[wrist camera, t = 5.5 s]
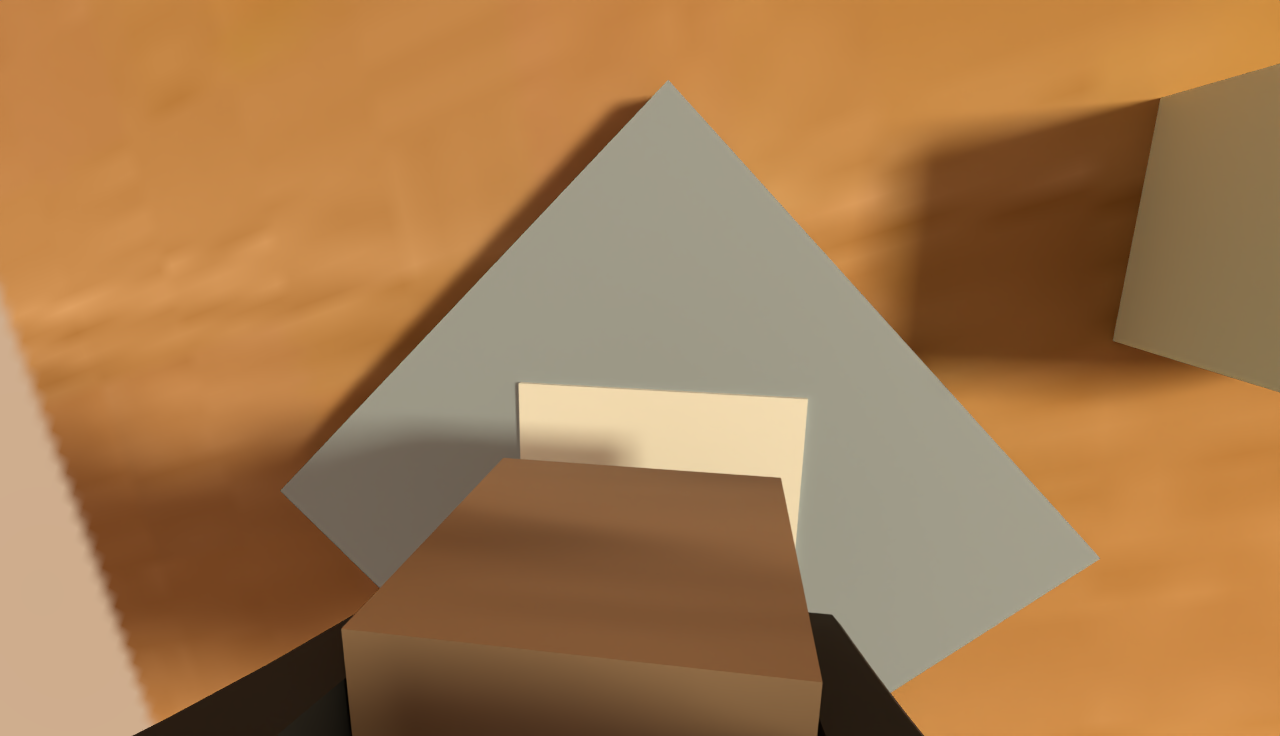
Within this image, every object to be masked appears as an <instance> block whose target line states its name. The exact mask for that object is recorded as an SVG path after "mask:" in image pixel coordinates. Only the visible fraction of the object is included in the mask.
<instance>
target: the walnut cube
mask: <svg viewBox="0 0 1280 736" xmlns="http://www.w3.org/2000/svg"><path fill="white" fill-rule="evenodd" d="M341 631H342V641H343V651H344V660H345V670H346V680H347V689H348V699H349V709H350V718H351V728H352V736H817V732H818V723H819V713H820V703H821V693H822V683H823V682H822V677H821V672H820V667H819V662H818V658H817V653H816V648H815V643H814V638H813V633H812V628H811V623H810V618H809V613H808V608H807V603H806V599H805V594H804V589H803V584H802V579H801V574H800V569H799V564H798V559H797V554H796V549H795V544H794V540H793V535H792V530H791V525H790V520H789V515H788V510H787V505H786V500H785V495H784V490H783V486H782V481H781V478H778V477H764V476H750V475H736V474H722V473H708V472H694V471H680V470H666V469H652V468H638V467H624V466H610V465H596V464H582V463H568V462H554V461H540V460H526V459H512V458H503V459H502V460H501V461H500V462H499V463H498V464H497V465H496V466H495V467H494V468H493V469H492V470H491V471H490V472H489V474H488V475H487V476H486V477H485V478H484V479H483V480H482V481H481V482H480V483H479V484H478V485H477V486H476V487H475V488H474V489H473V490H472V491H471V492H470V494H469V495H468V496H467V497H466V498H465V499H464V500H463V501H462V502H461V503H460V504H459V505H458V506H457V507H456V508H455V509H454V510H453V511H452V513H451V514H450V515H449V516H448V517H447V518H446V519H445V520H444V521H443V522H442V523H441V524H440V525H439V526H438V527H437V528H436V529H435V530H434V532H433V533H432V534H431V535H430V536H429V537H428V538H427V539H426V540H425V541H424V542H423V543H422V544H421V545H420V546H419V547H418V548H417V549H416V550H415V552H414V553H413V554H412V555H411V556H410V557H409V558H408V559H407V560H406V561H405V562H404V563H403V564H402V565H401V566H400V567H399V568H398V569H397V571H396V572H395V573H394V574H393V575H392V576H391V577H390V578H389V579H388V580H387V581H386V582H385V583H384V584H383V585H382V586H381V587H380V588H379V590H378V591H377V592H376V593H375V594H374V595H373V596H372V597H371V598H370V599H369V600H368V601H367V602H366V603H365V604H364V605H363V606H362V607H361V609H360V610H359V611H358V612H357V613H356V614H355V615H354V616H353V617H352V618H351V619H350V620H349V621H348V622H347V623H346V624H345V625H344V626H343V627H342V629H341Z"/></svg>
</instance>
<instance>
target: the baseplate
mask: <svg viewBox="0 0 1280 736" xmlns="http://www.w3.org/2000/svg"><path fill="white" fill-rule="evenodd" d="M503 458H512V459H526V460H540V461H554V462H568V463H582V464H596V465H610V466H624V467H638V468H652V469H666V470H680V471H694V472H708V473H722V474H736V475H750V476H764V477H778V478H781V481H782V486H783V490H784V495H785V500H786V505H787V510H788V515H789V520H790V525H791V530H792V535H793V540H794V544H795V549H796V554H797V559H798V564H799V569H800V574H801V579H802V584H803V589H804V594H805V599H806V603H807V608H808V612H811V613H821V614H831V615H833V616H834V617H835V619H836V620H837V621H838V622H839V623H840V624H841V626H842V627H843V629H844V630H845V631H846V633H847V634H848V636H849V637H850V638H851V640H852V641H853V643H854V644H855V645H856V647H857V648H858V650H859V651H860V652H861V654H862V655H863V657H864V658H865V659H866V661H867V662H868V664H869V665H870V666H871V668H872V669H873V670H874V672H875V673H876V674H877V676H878V677H879V678H880V680H881V681H882V682H883V684H884V685H885V686H886V688H887V689H888V690H889V692H890V693H891V692H892V691H894V690H896V689H897V688H899V687H900V686H902V685H903V684H905V683H907V682H908V681H910V680H911V679H913V678H914V677H916V676H918V675H919V674H921V673H922V672H924V671H925V670H927V669H928V668H930V667H932V666H933V665H935V664H936V663H938V662H939V661H941V660H943V659H944V658H946V657H947V656H949V655H950V654H952V653H953V652H955V651H957V650H958V649H960V648H961V647H963V646H964V645H966V644H968V643H969V642H971V641H972V640H974V639H975V638H977V637H978V636H980V635H982V634H983V633H985V632H986V631H988V630H989V629H991V628H993V627H994V626H996V625H997V624H999V623H1000V622H1002V621H1003V620H1005V619H1007V618H1008V617H1010V616H1011V615H1013V614H1014V613H1016V612H1018V611H1019V610H1021V609H1022V608H1024V607H1025V606H1027V605H1029V604H1030V603H1032V602H1033V601H1035V600H1036V599H1038V598H1039V597H1041V596H1043V595H1044V594H1046V593H1047V592H1049V591H1050V590H1052V589H1054V588H1055V587H1057V586H1058V585H1060V584H1061V583H1063V582H1064V581H1066V580H1068V579H1069V578H1071V577H1072V576H1074V575H1075V574H1077V573H1079V572H1080V571H1082V570H1083V569H1085V568H1086V567H1088V566H1089V565H1091V564H1093V563H1094V562H1096V561H1097V560H1099V559H1100V558H1099V557H1098V555H1097V554H1096V553H1095V552H1094V551H1093V550H1092V549H1091V548H1090V547H1089V545H1088V544H1087V543H1086V542H1085V541H1084V540H1083V539H1082V538H1081V537H1080V535H1079V534H1078V533H1077V532H1076V531H1075V530H1074V529H1073V528H1072V527H1071V526H1070V524H1069V523H1068V522H1067V521H1066V520H1065V519H1064V518H1063V517H1062V516H1061V514H1060V513H1059V512H1058V511H1057V510H1056V509H1055V508H1054V507H1053V506H1052V504H1051V503H1050V502H1049V501H1048V500H1047V499H1046V498H1045V497H1044V496H1043V494H1042V493H1041V492H1040V491H1039V490H1038V489H1037V488H1036V487H1035V486H1034V485H1033V483H1032V482H1031V481H1030V480H1029V479H1028V478H1027V477H1026V476H1025V475H1024V473H1023V472H1022V471H1021V470H1020V469H1019V468H1018V467H1017V466H1016V465H1015V463H1014V462H1013V461H1012V460H1011V459H1010V458H1009V457H1008V456H1007V455H1006V454H1005V452H1004V451H1003V450H1002V449H1001V448H1000V447H999V446H998V445H997V444H996V442H995V441H994V440H993V439H992V438H991V437H990V436H989V435H988V434H987V432H986V431H985V430H984V429H983V428H982V427H981V426H980V425H979V424H978V423H977V421H976V420H975V419H974V418H973V417H972V416H971V415H970V414H969V413H968V411H967V410H966V409H965V408H964V407H963V406H962V405H961V404H960V403H959V401H958V400H957V399H956V398H955V397H954V396H953V395H952V394H951V393H950V391H949V390H948V389H947V388H946V387H945V386H944V385H943V384H942V383H941V382H940V380H939V379H938V378H937V377H936V376H935V375H934V374H933V373H932V372H931V370H930V369H929V368H928V367H927V366H926V365H925V364H924V363H923V362H922V360H921V359H920V358H919V357H918V356H917V355H916V354H915V353H914V352H913V351H912V349H911V348H910V347H909V346H908V345H907V344H906V343H905V342H904V341H903V339H902V338H901V337H900V336H899V335H898V334H897V333H896V332H895V331H894V329H893V328H892V327H891V326H890V325H889V324H888V323H887V322H886V321H885V319H884V318H883V317H882V316H881V315H880V314H879V313H878V312H877V311H876V310H875V308H874V307H873V306H872V305H871V304H870V303H869V302H868V301H867V300H866V298H865V297H864V296H863V295H862V294H861V293H860V292H859V291H858V290H857V288H856V287H855V286H854V285H853V284H852V283H851V282H850V281H849V280H848V279H847V277H846V276H845V275H844V274H843V273H842V272H841V271H840V270H839V269H838V267H837V266H836V265H835V264H834V263H833V262H832V261H831V260H830V259H829V257H828V256H827V255H826V254H825V253H824V252H823V251H822V250H821V249H820V248H819V246H818V245H817V244H816V243H815V242H814V241H813V240H812V239H811V238H810V236H809V235H808V234H807V233H806V232H805V231H804V230H803V229H802V228H801V226H800V225H799V224H798V223H797V222H796V221H795V220H794V219H793V218H792V216H791V215H790V214H789V213H788V212H787V211H786V210H785V209H784V208H783V207H782V205H781V204H780V203H779V202H778V201H777V200H776V199H775V198H774V197H773V195H772V194H771V193H770V192H769V191H768V190H767V189H766V188H765V187H764V185H763V184H762V183H761V182H760V181H759V180H758V179H757V178H756V177H755V176H754V174H753V173H752V172H751V171H750V170H749V169H748V168H747V167H746V166H745V164H744V163H743V162H742V161H741V160H740V159H739V158H738V157H737V156H736V154H735V153H734V152H733V151H732V150H731V149H730V148H729V147H728V146H727V144H726V143H725V142H724V141H723V140H722V139H721V138H720V137H719V136H718V135H717V133H716V132H715V131H714V130H713V129H712V128H711V127H710V126H709V125H708V123H707V122H706V121H705V120H704V119H703V118H702V117H701V116H700V115H699V113H698V112H697V111H696V110H695V109H694V108H693V107H692V106H691V105H690V104H689V102H688V101H687V100H686V99H685V98H684V97H683V96H682V95H681V94H680V92H679V91H678V90H677V89H676V88H675V87H674V86H673V85H672V84H671V82H670V81H669V80H668V81H667V82H666V83H665V84H664V85H663V86H662V87H661V88H660V89H659V90H658V91H657V92H656V93H655V95H654V96H653V97H652V98H651V99H650V100H649V101H648V102H647V103H646V104H645V105H644V106H643V107H642V108H641V109H640V110H639V111H638V113H637V114H636V115H635V116H634V117H633V118H632V119H631V120H630V121H629V122H628V123H627V124H626V125H625V126H624V127H623V128H622V129H621V131H620V132H619V133H618V134H617V135H616V136H615V137H614V138H613V139H612V140H611V141H610V142H609V143H608V144H607V145H606V146H605V147H604V149H603V150H602V151H601V152H600V153H599V154H598V155H597V156H596V157H595V158H594V159H593V160H592V161H591V162H590V163H589V164H588V165H587V167H586V168H585V169H584V170H583V171H582V172H581V173H580V174H579V175H578V176H577V177H576V178H575V179H574V180H573V181H572V182H571V183H570V185H569V186H568V187H567V188H566V189H565V190H564V191H563V192H562V193H561V194H560V195H559V196H558V197H557V198H556V199H555V200H554V201H553V203H552V204H551V205H550V206H549V207H548V208H547V209H546V210H545V211H544V212H543V213H542V214H541V215H540V216H539V217H538V218H537V219H536V221H535V222H534V223H533V224H532V225H531V226H530V227H529V228H528V229H527V230H526V231H525V232H524V233H523V234H522V235H521V236H520V237H519V239H518V240H517V241H516V242H515V243H514V244H513V245H512V246H511V247H510V248H509V249H508V250H507V251H506V252H505V253H504V254H503V255H502V257H501V258H500V259H499V260H498V261H497V262H496V263H495V264H494V265H493V266H492V267H491V268H490V269H489V270H488V271H487V272H486V273H485V275H484V276H483V277H482V278H481V279H480V280H479V281H478V282H477V283H476V284H475V285H474V286H473V287H472V288H471V289H470V290H469V291H468V293H467V294H466V295H465V296H464V297H463V298H462V299H461V300H460V301H459V302H458V303H457V304H456V305H455V306H454V307H453V308H452V309H451V311H450V312H449V313H448V314H447V315H446V316H445V317H444V318H443V319H442V320H441V321H440V322H439V323H438V324H437V325H436V326H435V327H434V329H433V330H432V331H431V332H430V333H429V334H428V335H427V336H426V337H425V338H424V339H423V340H422V341H421V342H420V343H419V344H418V345H417V347H416V348H415V349H414V350H413V351H412V352H411V353H410V354H409V355H408V356H407V357H406V358H405V359H404V360H403V361H402V362H401V363H400V365H399V366H398V367H397V368H396V369H395V370H394V371H393V372H392V373H391V374H390V375H389V376H388V377H387V378H386V379H385V380H384V381H383V383H382V384H381V385H380V386H379V387H378V388H377V389H376V390H375V391H374V392H373V393H372V394H371V395H370V396H369V397H368V398H367V399H366V401H365V402H364V403H363V404H362V405H361V406H360V407H359V408H358V409H357V410H356V411H355V412H354V413H353V414H352V415H351V416H350V417H349V419H348V420H347V421H346V422H345V423H344V424H343V425H342V426H341V427H340V428H339V429H338V430H337V431H336V432H335V433H334V434H333V435H332V437H331V438H330V439H329V440H328V441H327V442H326V443H325V444H324V445H323V446H322V447H321V448H320V449H319V450H318V451H317V452H316V453H315V455H314V456H313V457H312V458H311V459H310V460H309V461H308V462H307V463H306V464H305V465H304V466H303V467H302V468H301V469H300V470H299V471H298V473H297V474H296V475H295V476H294V477H293V478H292V479H291V480H290V481H289V482H288V483H287V484H286V485H285V486H284V487H283V488H282V489H281V492H282V493H283V494H284V495H285V496H286V497H287V498H288V499H289V500H290V501H291V502H292V503H293V504H294V505H295V506H296V507H297V508H298V509H299V510H300V511H301V512H302V513H303V514H304V515H305V516H306V517H307V518H308V519H309V520H310V521H311V522H313V523H314V524H315V525H316V526H317V527H318V528H319V529H320V530H321V531H322V532H323V533H324V534H325V535H326V536H327V537H328V538H329V539H330V540H331V541H332V542H333V543H334V544H335V545H336V546H337V547H338V548H339V549H340V550H341V551H342V552H343V553H344V554H345V555H346V556H347V557H348V558H349V559H350V560H351V561H352V562H354V563H355V564H356V565H357V566H358V567H359V568H360V569H361V570H362V571H363V572H364V573H365V574H366V575H367V576H368V577H369V578H370V579H371V580H372V581H373V582H374V583H375V584H376V585H377V586H378V587H379V588H380V587H381V586H382V585H383V584H384V583H385V582H386V581H387V580H388V579H389V578H390V577H391V576H392V575H393V574H394V573H395V572H396V571H397V569H398V568H399V567H400V566H401V565H402V564H403V563H404V562H405V561H406V560H407V559H408V558H409V557H410V556H411V555H412V554H413V553H414V552H415V550H416V549H417V548H418V547H419V546H420V545H421V544H422V543H423V542H424V541H425V540H426V539H427V538H428V537H429V536H430V535H431V534H432V533H433V532H434V530H435V529H436V528H437V527H438V526H439V525H440V524H441V523H442V522H443V521H444V520H445V519H446V518H447V517H448V516H449V515H450V514H451V513H452V511H453V510H454V509H455V508H456V507H457V506H458V505H459V504H460V503H461V502H462V501H463V500H464V499H465V498H466V497H467V496H468V495H469V494H470V492H471V491H472V490H473V489H474V488H475V487H476V486H477V485H478V484H479V483H480V482H481V481H482V480H483V479H484V478H485V477H486V476H487V475H488V474H489V472H490V471H491V470H492V469H493V468H494V467H495V466H496V465H497V464H498V463H499V462H500V461H501V460H502V459H503Z"/></svg>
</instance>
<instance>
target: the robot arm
mask: <svg viewBox="0 0 1280 736" xmlns="http://www.w3.org/2000/svg"><path fill="white" fill-rule="evenodd" d="M808 613H809V618H810V623H811V628H812V633H813V638H814V643H815V648H816V653H817V658H818V662H819V667H820V672H821V677H822V682H823V683H822V693H821V703H820V713H819V723H818V732H817V736H924V735H923V734H922V733H921V731H920V730H919V729H918V728H917V727H916V725H915V724H914V723H913V722H912V720H911V719H910V718H909V717H908V715H907V714H906V713H905V711H904V710H903V709H902V707H901V706H900V705H899V704H898V702H897V701H896V700H895V698H894V697H893V696H892V694H891V693H890V692H889V690H888V689H887V688H886V686H885V685H884V684H883V682H882V681H881V680H880V678H879V677H878V676H877V674H876V673H875V672H874V670H873V669H872V668H871V666H870V665H869V664H868V662H867V661H866V659H865V658H864V657H863V655H862V654H861V652H860V651H859V650H858V648H857V647H856V645H855V644H854V643H853V641H852V640H851V638H850V637H849V636H848V634H847V633H846V631H845V630H844V629H843V627H842V626H841V624H840V623H839V622H838V621H837V620H836V619H835V617H834V616H833V615H831V614H821V613H811V612H808ZM354 615H355V614H354ZM354 615H352V616H351V617H349V618H347V619H346V620H344V621H342V622H340V623H339V624H337V625H335V626H334V627H332V628H330V629H328V630H327V631H325V632H323V633H321V634H320V635H318V636H316V637H314V638H313V639H311V640H309V641H308V642H306V643H304V644H302V645H301V646H299V647H297V648H295V649H294V650H292V651H290V652H289V653H287V654H285V655H283V656H282V657H280V658H278V659H276V660H275V661H273V662H271V663H269V664H268V665H266V666H264V667H262V668H260V669H258V670H256V671H255V672H253V673H251V674H249V675H247V676H245V677H243V678H241V679H240V680H238V681H236V682H234V683H232V684H230V685H228V686H227V687H225V688H223V689H221V690H219V691H217V692H215V693H213V694H212V695H210V696H208V697H206V698H204V699H202V700H200V701H199V702H197V703H195V704H193V705H191V706H189V707H187V708H186V709H184V710H182V711H180V712H178V713H176V714H174V715H172V716H171V717H169V718H167V719H165V720H163V721H161V722H159V723H157V724H155V725H153V726H151V727H149V728H147V729H145V730H143V731H141V732H139V733H137V734H135V735H133V736H352V728H351V718H350V709H349V699H348V689H347V680H346V670H345V660H344V651H343V641H342V631H341V629H342V627H343V626H344V625H345V624H346V623H347V622H348V621H349V620H350V619H351V618H352V617H353V616H354Z"/></svg>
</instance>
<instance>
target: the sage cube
mask: <svg viewBox="0 0 1280 736" xmlns="http://www.w3.org/2000/svg"><path fill="white" fill-rule="evenodd" d="M1113 341H1114V342H1118V343H1121V344H1124V345H1127V346H1131V347H1134V348H1137V349H1140V350H1144V351H1147V352H1150V353H1153V354H1157V355H1160V356H1163V357H1166V358H1170V359H1173V360H1176V361H1179V362H1183V363H1186V364H1189V365H1193V366H1196V367H1199V368H1202V369H1206V370H1209V371H1212V372H1215V373H1219V374H1222V375H1225V376H1228V377H1232V378H1235V379H1238V380H1241V381H1245V382H1248V383H1251V384H1254V385H1258V386H1261V387H1264V388H1267V389H1271V390H1274V391H1277V392H1280V64H1277V65H1274V66H1270V67H1267V68H1263V69H1260V70H1256V71H1253V72H1249V73H1246V74H1242V75H1239V76H1235V77H1232V78H1228V79H1225V80H1221V81H1218V82H1214V83H1211V84H1208V85H1204V86H1201V87H1197V88H1194V89H1190V90H1187V91H1183V92H1180V93H1176V94H1173V95H1169V96H1166V97H1162V98H1160V103H1159V108H1158V114H1157V119H1156V124H1155V129H1154V134H1153V139H1152V144H1151V149H1150V154H1149V159H1148V164H1147V169H1146V174H1145V180H1144V185H1143V190H1142V195H1141V200H1140V205H1139V210H1138V215H1137V220H1136V225H1135V230H1134V235H1133V240H1132V246H1131V251H1130V256H1129V261H1128V266H1127V271H1126V276H1125V281H1124V286H1123V291H1122V296H1121V301H1120V306H1119V312H1118V317H1117V322H1116V327H1115V332H1114V337H1113Z"/></svg>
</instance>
